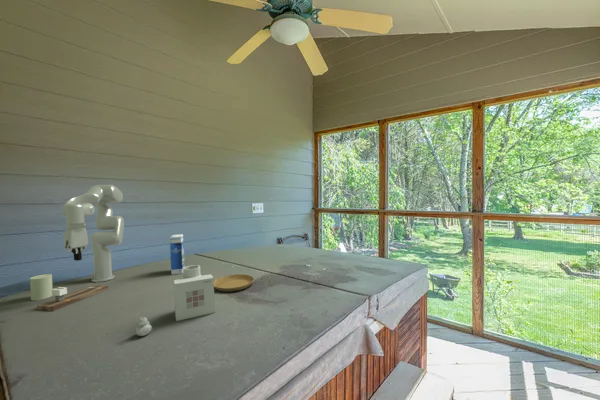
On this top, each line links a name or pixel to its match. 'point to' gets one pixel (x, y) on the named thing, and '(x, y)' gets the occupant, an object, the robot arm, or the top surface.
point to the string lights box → (177, 254)
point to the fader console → (72, 298)
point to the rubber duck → (143, 327)
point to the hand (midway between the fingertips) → (77, 260)
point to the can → (41, 286)
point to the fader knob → (59, 293)
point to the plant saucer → (233, 282)
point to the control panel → (193, 294)
